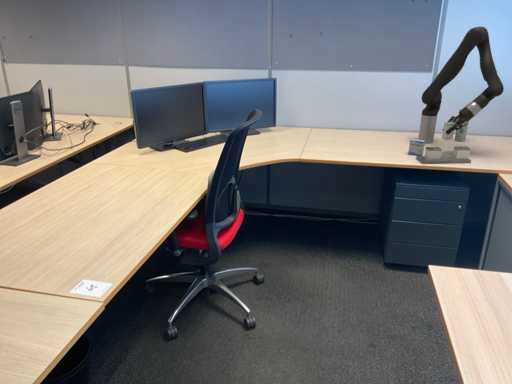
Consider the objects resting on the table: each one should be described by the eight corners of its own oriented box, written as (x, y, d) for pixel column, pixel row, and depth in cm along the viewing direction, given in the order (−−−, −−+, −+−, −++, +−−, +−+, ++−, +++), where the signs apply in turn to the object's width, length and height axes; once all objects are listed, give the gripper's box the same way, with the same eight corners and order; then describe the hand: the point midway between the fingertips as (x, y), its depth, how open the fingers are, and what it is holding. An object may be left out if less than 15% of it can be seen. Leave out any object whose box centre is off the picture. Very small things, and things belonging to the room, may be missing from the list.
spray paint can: (464, 139, 279) (469, 108, 272) (466, 142, 273) (471, 110, 266) (453, 138, 281) (458, 108, 273) (455, 141, 275) (460, 110, 267)
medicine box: (407, 154, 250) (409, 140, 246) (409, 152, 253) (411, 138, 250) (422, 156, 246) (424, 141, 243) (423, 154, 250) (425, 139, 247)
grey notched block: (416, 158, 242) (417, 146, 239) (462, 158, 243) (465, 145, 240) (422, 163, 234) (424, 150, 231) (470, 163, 234) (473, 149, 232)
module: (441, 138, 248) (444, 122, 244) (449, 137, 248) (452, 122, 245) (444, 140, 244) (447, 124, 241) (452, 140, 245) (455, 124, 241)
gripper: (460, 103, 246) (435, 124, 250) (472, 109, 233) (446, 131, 237) (467, 112, 248) (443, 133, 252) (480, 118, 235) (454, 140, 239)
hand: (445, 132), depth 245 cm, fingers closed on module, 4 cm apart
